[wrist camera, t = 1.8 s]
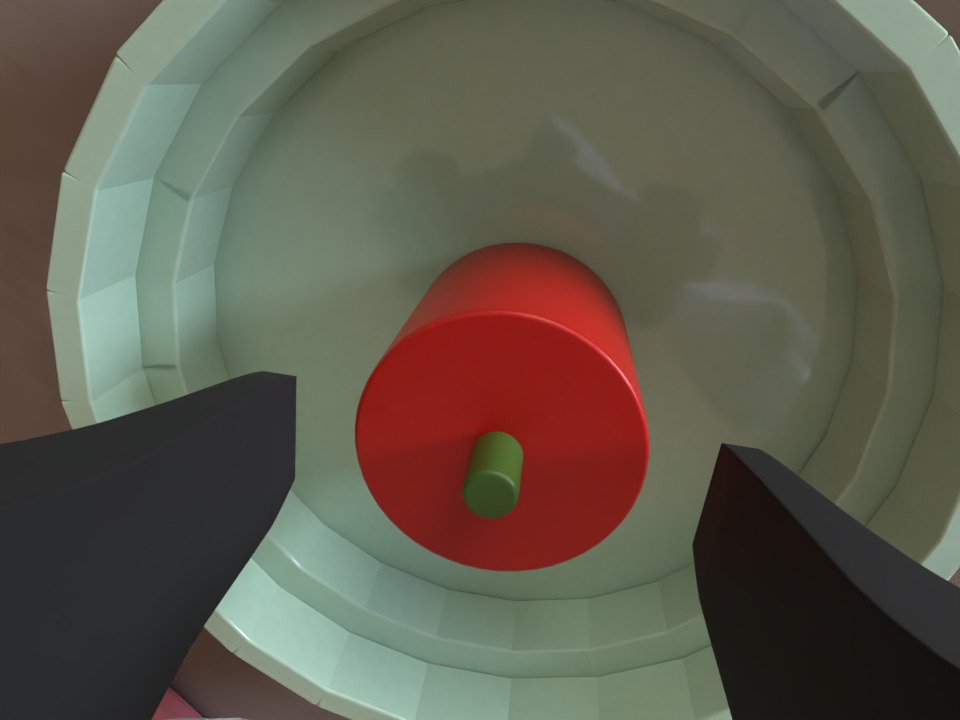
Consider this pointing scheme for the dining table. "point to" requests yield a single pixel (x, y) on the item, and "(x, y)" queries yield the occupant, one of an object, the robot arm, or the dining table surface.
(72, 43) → the dining table surface
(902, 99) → the bowl
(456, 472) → the pepper
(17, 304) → the dining table surface
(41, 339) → the dining table surface
